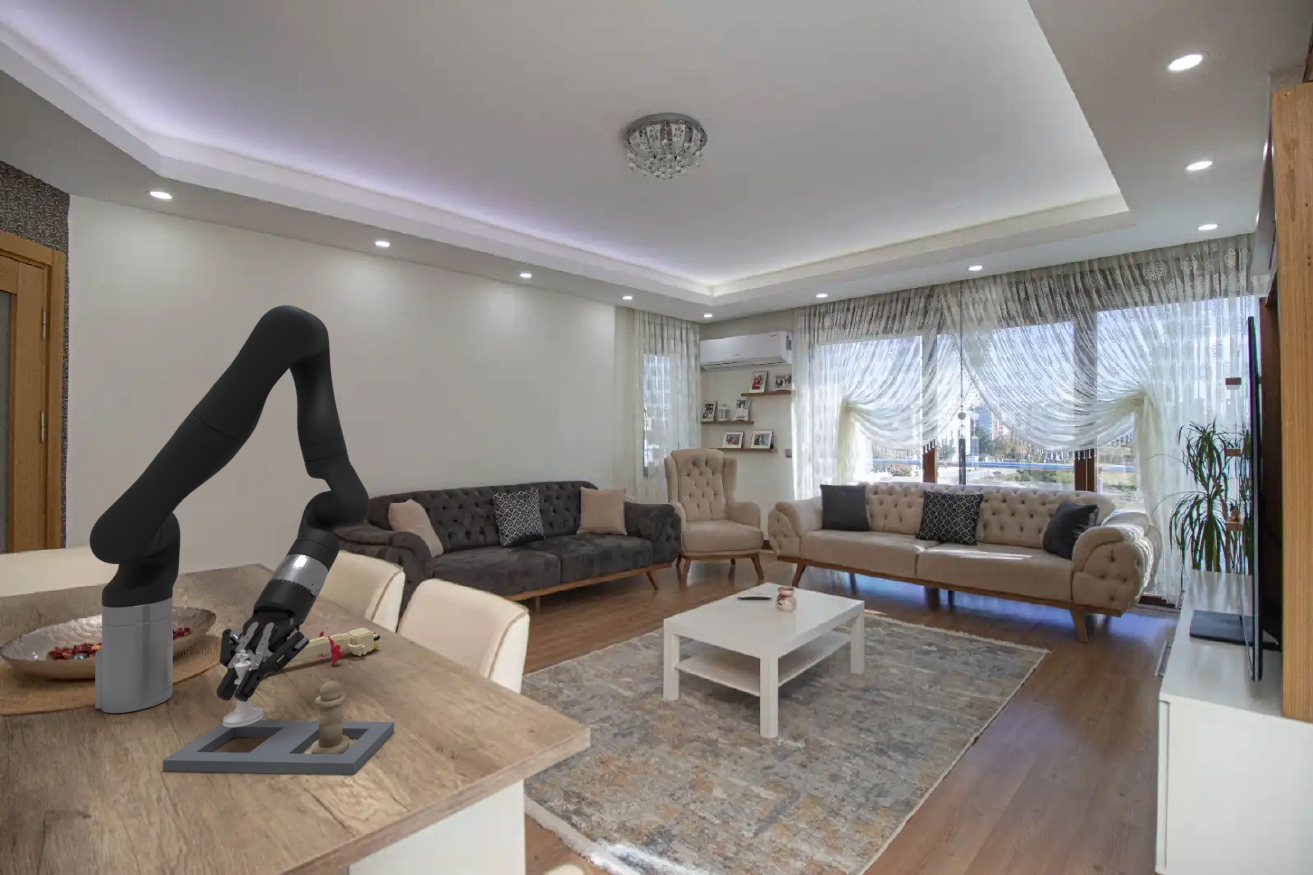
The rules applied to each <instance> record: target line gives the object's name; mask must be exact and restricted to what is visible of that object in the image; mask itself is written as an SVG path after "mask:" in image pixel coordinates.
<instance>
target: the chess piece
mask: <svg viewBox="0 0 1313 875" xmlns="http://www.w3.org/2000/svg"><path fill="white" fill-rule="evenodd" d="M237 658H240V662H239V663H237V664H235V666H234V667H235V670H236V672H237V675H238V677H239V678H238V679H236V680H235V682H234V684H239V685H240V683H241V681H242V679H243V678H244V676H245V674H246V672H247V670H249V668H250V666H251V662H249V661H245V659H247V658H249V654H245V650H241V651H240V654H237ZM239 685H238V686H239ZM236 701H237V702H236V706H235V708H233V711H231V712H229V713H227V714H226V715H225V716H224V717H223V719H222V722H223V726H225V727H241V726H245V725H249V724H252V723H254V722H257V721H258V720H262V719H263V717H264V716H265V715H264V710H263V708H261V707H256V706H253V705H252V704H251V702H250V698H249V699H248V700H247V701H246V702H243V701H239V700H238V699H236Z"/></svg>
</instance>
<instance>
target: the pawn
mask: <svg viewBox="0 0 1313 875" xmlns="http://www.w3.org/2000/svg"><path fill="white" fill-rule="evenodd" d="M342 687H343V686H342V685H341V683H340V682H338V681H336V680H328V681H326V682H324V684H322V685H321V687H320V690H319V695H318V696H317V697H316V698H315V706H316V707H318V721H319V739H318V740H317V741H315V742H314V743H313V744H312V745H311V746H310V747H311V753H310V754H343V753H344V752H345V751H347V750H348V749H349V748H350V738H349V737H348V736H345V735H342V721H343V703H344V702H345V701H346V692H344V691H343V692H342V690H343V689H342Z"/></svg>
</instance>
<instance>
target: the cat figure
mask: <svg viewBox="0 0 1313 875" xmlns="http://www.w3.org/2000/svg"><path fill="white" fill-rule="evenodd" d="M324 634H325V633H324V630H322V631H320V632H319V635H318V637H315V638H312V639H309V644H308V645H307V646H306V647H305V648H304V649H303V650H302V651H300V652H299V653H298V654H297V655H296V656H295V657H294V658H293V659H292V660H291V661H290V662H289V663H288V664H287V665H286V666H285V667H284V668H286V667H289V666H291V664H294V663H298V662H300V661H305V660H307V659H311V658H315V657H317V656H321V657H325V656H326V655H329V654H331V664H332V665H331V666H334V665H335V664H336V663H337V660H339V658H342V657H343V652H345V651H349V652H350V653H351V654H353V655H355V656H358V657H361V656H364V655H366V654H367V653H368V652H372V651H373V650H375V649H378V648H379V646H380V644H382V643H383V640H381V641H380V639H381V635H380V634H378V633H376V632H375V631H372V630H369V629H368V628H366V627H359V628H355V629H353V630H349V631H347V632H344V633H341V632H339V633H335V634H333V635H328V636H324ZM248 650H249V649H248ZM249 651H250V650H249ZM251 652H252V651H251ZM283 656H284V655H283ZM283 656H282V657H283ZM282 657H281V658H282ZM281 658H280V659H281ZM280 659H279V660H280ZM279 660H278V661H279ZM278 661H277V662H278ZM252 663H253V662H252ZM252 663H251V665H252ZM249 670H251V666H250V668H249ZM271 673H272V672H270V673H269V674H271Z"/></svg>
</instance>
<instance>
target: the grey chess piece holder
mask: <svg viewBox="0 0 1313 875" xmlns="http://www.w3.org/2000/svg"><path fill="white" fill-rule="evenodd" d="M394 733H395V721H348V720H345V721H344V720H342V735H345V736H348V737H349V739H355V740H356V739H357V740H356V741H355V742H354V743H352V745H351V746H349V749H348V750H347V751H345V752H344V753H343V754H311V753H304V752H305V751H306V750H308V748H310V747H311V746H312V744H313V743H314V742H315V741H317V740H319V720H291V719H290V720H288V719H287V720H286V719H285V720H283V719H280V720H279V719H275V720H274V719H260V720H258V721H257V722H254V723H252V724H249V725H245V726H241V727H225V726H223V721H222V722H221V723H219V724H218V725H216V726H214V727H213V728H211V729H210V730H208V731H206V732H205V733H203V734H202V735H200V736H199V737H198V738H196V739H194V740H192V741H190V742H189V743H188V744H186V745H184V746H182V747H181V748H180V749H178V750H177V751H175V752H173V753H171V754H170V755H169V756H167V757H165V758H163V760H162V772H177V773H178V772H179V773H180V772H181V773H185V772H186V773H187V772H188V773H189V772H190V773H191V772H192V773H235V774H237V773H240V774H241V773H242V774H243V773H244V774H289V775H290V774H293V775H294V774H296V775H297V774H298V775H299V774H300V775H301V774H302V775H305V774H306V775H348V776H349V775H355V774H356V773H357V772H359V769H360V768H361V767H362V766H363V765H364V764H366V763H367V761H368V760H369V759H370V758H371V757H372V756H373V755H374V754H375V753H376V752H377V751H378V750H379V748H381V747H382V745H383V744H384V743H385V742H386V741H387V740H388V739H389V738H390V737H391V736H393V734H394ZM235 737H237V738H239V737H242V738H243V737H244V738H246V737H247V738H267V739H266V740H265V741H263V742H261V743H260V744H259V745H258V746H257V747H255V748H253V749H252V750H251V751H250V752H224V751H222V752H221V751H220V752H218V751H217V752H216V750H217V749H218V748H220V747H221V746H223V745H224V744H225V743H227V742H228V741H230V740H231V739H233V738H235Z"/></svg>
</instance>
